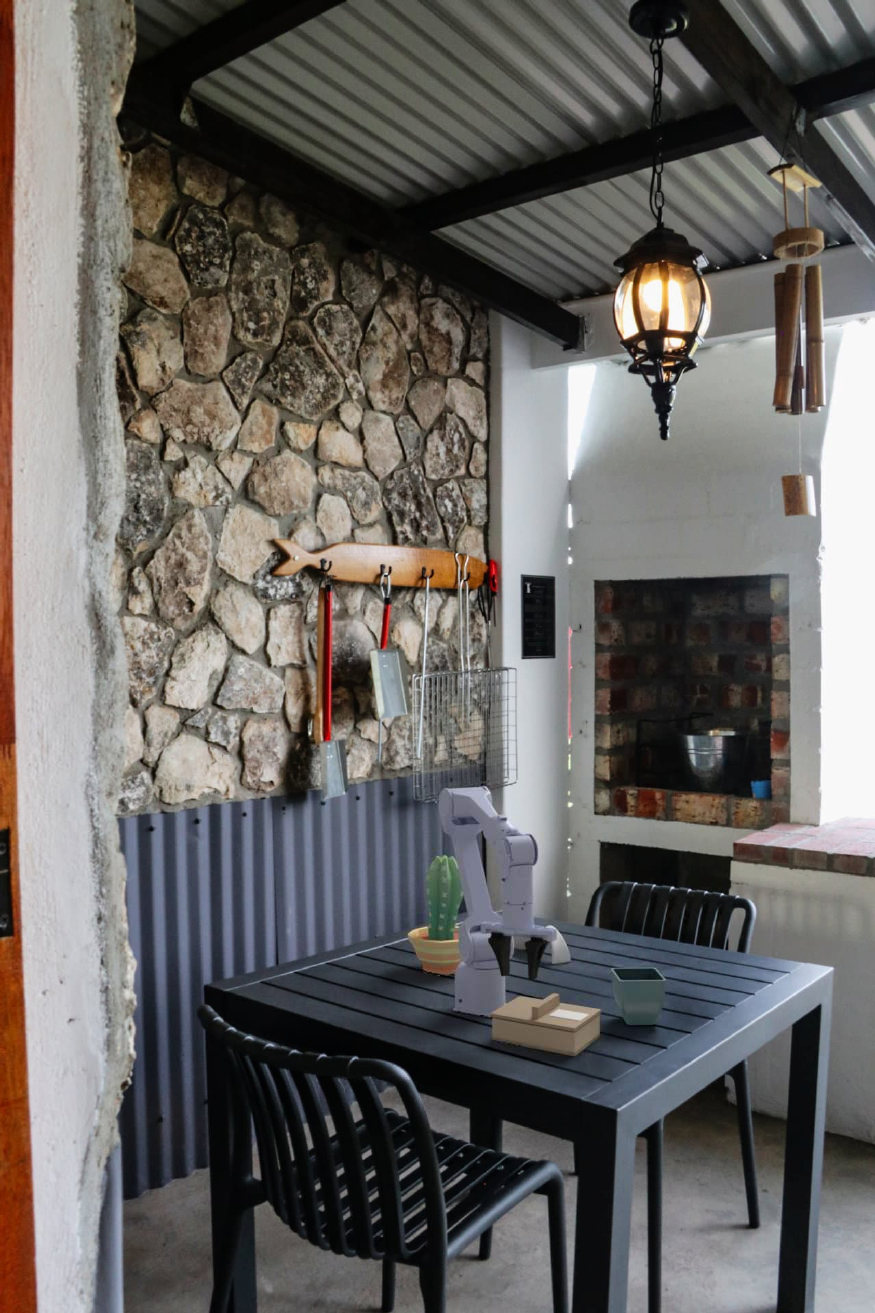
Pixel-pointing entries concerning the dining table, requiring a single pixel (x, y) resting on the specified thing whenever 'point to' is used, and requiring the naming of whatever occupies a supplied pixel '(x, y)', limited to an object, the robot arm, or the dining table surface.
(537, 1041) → the box
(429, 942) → the potted cactus
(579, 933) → the dining table surface
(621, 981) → the flower pot
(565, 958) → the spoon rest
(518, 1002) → the mailer lid
